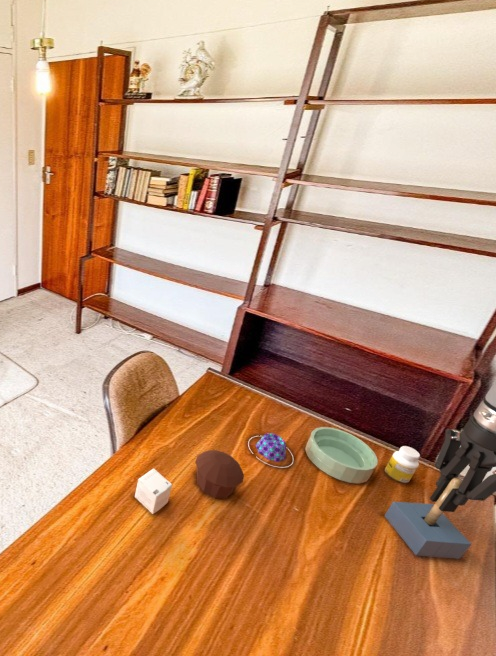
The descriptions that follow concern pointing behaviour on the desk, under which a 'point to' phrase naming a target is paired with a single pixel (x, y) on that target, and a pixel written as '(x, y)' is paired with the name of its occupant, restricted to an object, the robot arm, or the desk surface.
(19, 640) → the desk surface
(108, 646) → the desk surface
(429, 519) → the stick
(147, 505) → the product carton
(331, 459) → the bowl
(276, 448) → the checkered ringed planet
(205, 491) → the muffin
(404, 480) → the supplement bottle
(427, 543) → the block
